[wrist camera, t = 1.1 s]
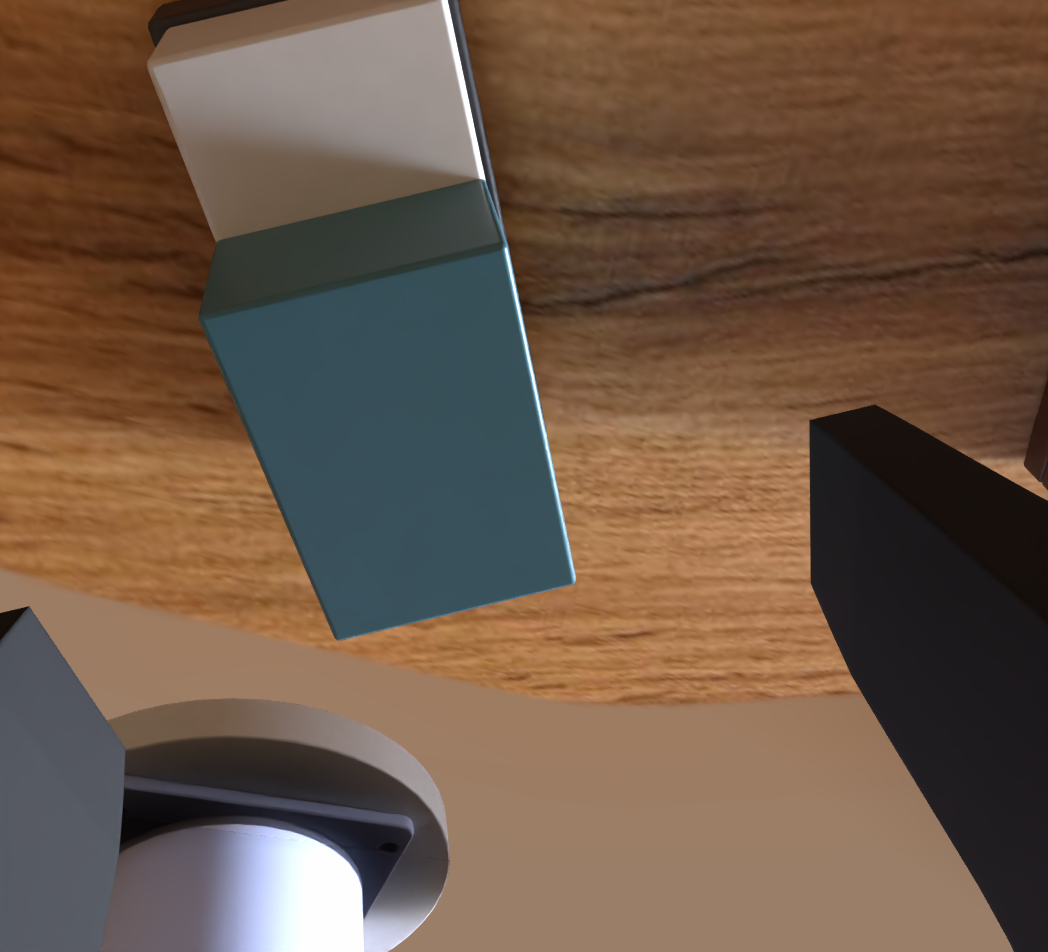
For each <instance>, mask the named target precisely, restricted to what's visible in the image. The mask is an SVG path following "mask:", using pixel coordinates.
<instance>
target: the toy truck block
mask: <svg viewBox="0 0 1048 952" xmlns="http://www.w3.org/2000/svg"><path fill="white" fill-rule="evenodd" d="M148 30H149V32H150V35H151V37H152V40H153V43H154V45H155V50H154V51H153V53H152V55H151V56H150V58H149V60H148V61H147V69H148V72H149V74H150V77H151V79H152V82H153V84H154V87H155V90H156V92H157V95H158V97H159V100H160V102H161V105H162V107H163V110H164V112H165V115H166V117H167V120H168V122H169V125H170V128H171V130H172V133H173V135H174V138H175V140H176V143H177V145H178V148H179V150H180V153H181V155H182V158H183V160H184V163H185V165H186V168H187V171H188V173H189V176H190V178H191V181H192V183H193V186H194V188H195V191H196V193H197V196H198V198H199V201H200V203H201V206H202V209H203V211H204V214H205V216H206V219H207V221H208V224H209V226H210V229H211V231H212V234H213V236H214V239H215V241H216V246H215V250H214V254H213V258H212V262H211V266H210V270H209V274H208V278H207V282H206V286H205V290H204V294H203V298H202V302H201V306H200V310H199V315H198V320H199V322H200V325H201V327H202V329H203V332H204V334H205V336H206V339H207V341H208V343H209V346H210V348H211V350H212V353H213V355H214V357H215V360H216V362H217V364H218V367H219V369H220V371H221V374H222V376H223V378H224V381H225V383H226V385H227V388H228V390H229V392H230V395H231V397H232V399H233V402H234V404H235V406H236V409H237V411H238V413H239V416H240V418H241V420H242V423H243V425H244V427H245V430H246V432H247V434H248V437H249V439H250V441H251V444H252V446H253V448H254V451H255V453H256V455H257V458H258V460H259V462H260V465H261V467H262V469H263V472H264V474H265V476H266V479H267V481H268V483H269V486H270V488H271V490H272V493H273V495H274V497H275V500H276V502H277V504H278V507H279V509H280V511H281V514H282V516H283V518H284V521H285V523H286V525H287V528H288V530H289V532H290V535H291V537H292V539H293V542H294V544H295V546H296V549H297V551H298V554H299V556H300V558H301V561H302V563H303V565H304V568H305V570H306V572H307V575H308V577H309V579H310V582H311V584H312V586H313V589H314V591H315V593H316V596H317V598H318V600H319V603H320V605H321V607H322V610H323V612H324V614H325V617H326V619H327V621H328V624H329V626H330V628H331V631H332V633H333V635H334V637H335V639H336V640H340V641H341V640H345V639H349V638H353V637H358V636H362V635H366V634H370V633H374V632H378V631H382V630H387V629H391V628H395V627H399V626H403V625H407V624H412V623H416V622H420V621H424V620H428V619H432V618H436V617H441V616H445V615H449V614H453V613H457V612H461V611H465V610H470V609H474V608H478V607H482V606H486V605H490V604H495V603H499V602H503V601H507V600H511V599H515V598H519V597H524V596H528V595H532V594H536V593H540V592H544V591H549V590H553V589H557V588H561V587H565V586H569V585H572V584H574V583H575V580H576V575H575V570H574V566H573V561H572V556H571V551H570V546H569V541H568V536H567V531H566V527H565V522H564V517H563V512H562V507H561V502H560V497H559V492H558V488H557V483H556V478H555V473H554V468H553V463H552V458H551V453H550V449H549V444H548V439H547V434H546V426H545V421H544V416H543V411H542V406H541V402H540V397H539V392H538V387H537V382H536V377H535V372H534V367H533V363H532V358H531V353H530V348H529V343H528V338H527V333H526V328H525V323H524V319H523V314H522V309H521V304H520V299H519V294H518V289H517V284H516V279H515V275H514V270H513V265H512V260H511V255H510V250H509V245H508V240H507V236H506V231H505V226H504V221H503V216H502V211H501V206H500V201H499V196H498V192H497V187H496V182H495V177H494V172H493V167H492V162H491V157H490V152H489V148H488V143H487V138H486V133H485V128H484V123H483V118H482V113H481V109H480V104H479V99H478V94H477V89H476V84H475V79H474V74H473V69H472V65H471V60H470V55H469V50H468V45H467V40H466V35H465V30H464V25H463V21H462V16H461V11H460V6H459V1H458V0H181V1H176V2H172V3H168V4H163V5H162V6H161V7H159V8H158V10H157V11H156V12H155V14H154V15H153V17H152V18H151V20H150V21H149V22H148Z"/></svg>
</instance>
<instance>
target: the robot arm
mask: <svg viewBox="0 0 1048 952" xmlns="http://www.w3.org/2000/svg"><path fill="white" fill-rule="evenodd" d="M810 547H811V585H812V587H813V590H814V592H815V594H816V597H817V599H818V601H819V604H820V606H821V608H822V611H823V613H824V615H825V617H826V620H827V622H828V624H829V627H830V629H831V631H832V634H833V636H834V638H835V640H836V643H837V645H838V647H839V649H840V651H841V653H842V656H843V658H844V660H845V662H846V664H847V667H848V669H849V671H850V673H851V675H852V677H853V679H854V680H855V682H856V684H857V686H858V687H859V689H860V691H861V692H862V694H863V696H864V698H865V699H866V701H867V703H868V704H869V706H870V707H871V709H872V711H873V713H874V714H875V716H876V718H877V719H878V721H879V723H880V724H881V726H882V727H883V729H884V731H885V733H886V734H887V736H888V738H889V739H890V741H891V742H892V744H893V746H894V748H895V749H896V751H897V752H898V754H899V756H900V757H901V759H902V761H903V762H904V764H905V766H906V767H907V769H908V771H909V772H910V774H911V776H912V777H913V779H914V780H915V782H916V784H917V786H918V787H919V789H920V790H921V792H922V794H923V795H924V797H925V799H926V800H927V802H928V804H929V805H930V807H931V809H932V810H933V812H934V813H935V815H936V817H937V818H938V820H939V821H940V823H941V825H942V827H943V828H944V830H945V832H946V833H947V835H948V837H949V838H950V840H951V841H952V843H953V845H954V846H955V848H956V850H957V851H958V853H959V855H960V856H961V858H962V860H963V861H964V863H965V865H966V866H967V868H968V869H969V871H970V873H971V874H972V876H973V878H974V879H975V881H976V883H977V884H978V886H979V888H980V890H981V891H982V893H983V895H984V897H985V898H986V900H987V902H988V904H989V906H990V908H991V909H992V911H993V913H994V915H995V917H996V918H997V920H998V922H999V924H1000V926H1001V927H1002V929H1003V931H1004V933H1005V935H1006V936H1007V938H1008V940H1009V942H1010V944H1011V947H1012V949H1013V951H1014V952H1048V501H1047V500H1045V499H1043V498H1041V497H1039V496H1038V495H1036V494H1034V493H1032V492H1030V491H1029V490H1027V489H1025V488H1023V487H1021V486H1020V485H1018V484H1016V483H1014V482H1012V481H1011V480H1009V479H1007V478H1005V477H1003V476H1002V475H1000V474H998V473H996V472H994V471H993V470H991V469H989V468H987V467H986V466H984V465H982V464H980V463H979V462H977V461H975V460H973V459H972V458H970V457H968V456H966V455H964V454H963V453H961V452H959V451H957V450H956V449H954V448H952V447H950V446H949V445H947V444H945V443H944V442H942V441H940V440H938V439H937V438H935V437H933V436H931V435H930V434H928V433H926V432H924V431H923V430H921V429H919V428H917V427H915V426H914V425H912V424H910V423H908V422H907V421H905V420H903V419H901V418H899V417H897V416H896V415H894V414H892V413H890V412H888V411H886V410H884V409H882V408H881V407H879V406H877V405H871V406H867V407H863V408H859V409H855V410H850V411H846V412H842V413H838V414H834V415H829V416H825V417H821V418H817V419H813V420H810ZM124 766H125V747H124V746H123V744H122V743H121V741H120V740H119V738H118V737H117V735H116V734H115V732H114V731H113V729H112V728H111V726H110V725H109V723H108V722H107V720H106V719H105V718H104V716H103V715H102V713H101V712H100V710H99V709H98V707H97V706H96V704H95V703H94V701H93V700H92V698H91V697H90V696H89V694H88V692H87V691H86V689H85V688H84V687H83V685H82V683H81V682H80V681H79V679H78V678H77V676H76V675H75V673H74V672H73V670H72V669H71V667H70V666H69V664H68V663H67V661H66V660H65V658H64V657H63V656H62V654H61V653H60V651H59V650H58V648H57V647H56V645H55V644H54V642H53V641H52V639H51V638H50V636H49V635H48V633H47V632H46V630H45V629H44V627H43V626H42V624H41V623H40V622H39V620H38V619H37V617H36V615H35V614H34V613H33V611H32V610H31V608H30V607H29V606H28V607H24V608H20V609H16V610H11V611H7V612H3V613H0V952H363V920H364V918H365V917H366V915H367V913H368V912H369V910H370V908H371V907H372V905H373V903H374V902H375V900H376V898H377V897H378V895H379V893H380V892H381V890H382V888H383V887H384V885H385V883H386V882H387V880H388V878H389V877H390V875H391V873H392V872H393V870H394V868H395V867H396V865H397V863H398V862H399V860H400V858H401V857H402V855H403V853H404V852H405V850H406V848H407V847H408V845H409V843H410V842H411V840H412V838H413V835H414V831H413V823H412V820H411V819H410V818H408V817H407V816H404V815H401V814H395V813H388V812H381V811H374V810H367V809H360V808H353V807H346V806H340V805H333V804H326V803H319V802H312V801H305V800H298V799H291V798H284V797H278V796H271V795H264V794H257V793H250V792H243V791H236V790H229V789H223V788H216V787H209V786H202V785H195V784H188V783H181V782H174V781H168V780H161V779H154V778H147V777H140V776H133V775H124Z"/></svg>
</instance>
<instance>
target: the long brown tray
mask: <svg viewBox="0 0 1048 952" xmlns="http://www.w3.org/2000/svg"><path fill="white" fill-rule="evenodd" d="M1024 466H1025V468H1026V469H1027V470H1028V471H1029V472H1030V473H1031V474H1032V475H1033V476H1034V477H1035V478H1036V479H1037V480H1038V481H1039V482H1042V484H1043V486H1044V487H1045V488H1046V489H1047V490H1048V383H1047V386H1046V390H1045V393H1044V397H1043V400H1042V403H1041V407H1040V410H1039V414H1038V417H1037V420H1036V424H1035V427H1034V431H1033V434H1032V437H1031V441H1030V444H1029V448H1028V451H1027V454H1026V458H1025V461H1024Z"/></svg>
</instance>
